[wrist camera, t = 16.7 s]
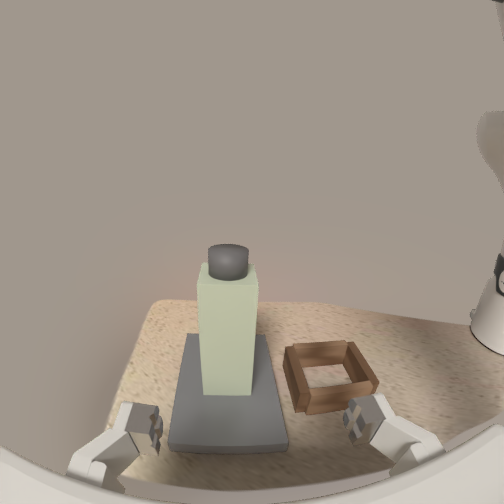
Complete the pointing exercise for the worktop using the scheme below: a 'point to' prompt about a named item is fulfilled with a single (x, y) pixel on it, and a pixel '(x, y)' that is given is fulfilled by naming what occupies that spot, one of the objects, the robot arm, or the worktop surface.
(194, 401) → the slate board
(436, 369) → the worktop surface
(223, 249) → the spice grinder
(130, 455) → the robot arm
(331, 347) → the walnut pocket
